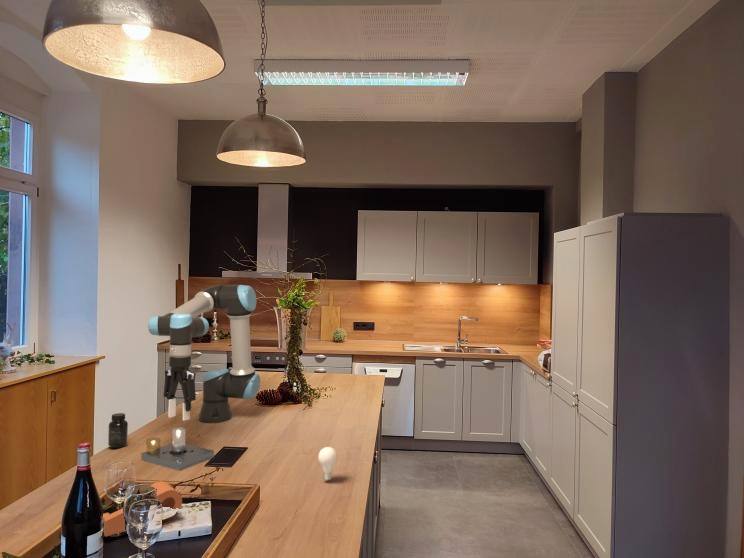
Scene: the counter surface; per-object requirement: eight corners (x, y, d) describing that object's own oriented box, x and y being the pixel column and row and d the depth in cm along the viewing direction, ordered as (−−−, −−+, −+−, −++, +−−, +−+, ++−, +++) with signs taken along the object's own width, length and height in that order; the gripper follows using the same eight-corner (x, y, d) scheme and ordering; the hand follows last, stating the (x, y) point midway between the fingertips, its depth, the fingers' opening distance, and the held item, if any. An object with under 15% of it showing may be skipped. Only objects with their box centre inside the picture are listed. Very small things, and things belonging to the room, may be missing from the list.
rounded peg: (168, 459, 194) (169, 429, 194) (178, 455, 198) (179, 426, 198) (177, 461, 191) (178, 431, 192) (187, 458, 196) (188, 428, 196)
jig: (140, 459, 193) (141, 440, 193) (176, 448, 207) (176, 430, 207) (179, 470, 183) (180, 450, 183) (214, 457, 197) (214, 438, 197)
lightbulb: (317, 476, 180) (318, 444, 180) (336, 476, 181) (337, 444, 181) (317, 483, 174) (318, 450, 174) (336, 483, 174) (337, 450, 174)
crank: (171, 505, 156) (172, 478, 156) (181, 515, 150) (182, 487, 150) (97, 525, 142) (97, 496, 142) (105, 536, 137) (106, 505, 137)
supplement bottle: (113, 441, 213) (114, 412, 213) (130, 442, 212) (131, 412, 212) (104, 447, 206) (105, 416, 206) (121, 447, 206) (122, 417, 206)
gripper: (153, 354, 196) (152, 416, 196) (191, 359, 187) (189, 424, 187) (170, 352, 203) (168, 412, 203) (207, 357, 193) (206, 419, 193)
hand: (179, 418), depth 195 cm, fingers open, 7 cm apart
